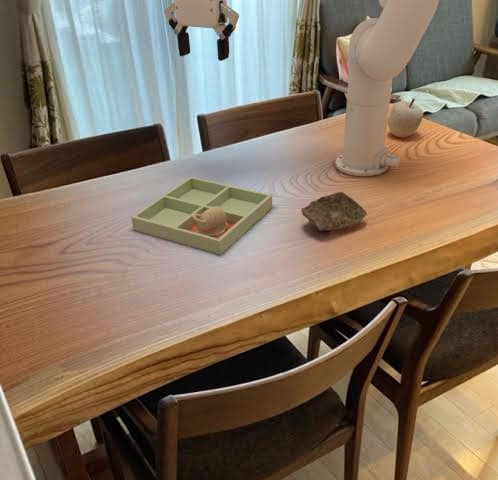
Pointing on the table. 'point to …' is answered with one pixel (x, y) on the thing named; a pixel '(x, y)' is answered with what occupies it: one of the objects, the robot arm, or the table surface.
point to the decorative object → (404, 118)
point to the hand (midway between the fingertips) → (204, 57)
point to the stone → (334, 212)
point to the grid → (196, 202)
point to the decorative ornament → (211, 222)
